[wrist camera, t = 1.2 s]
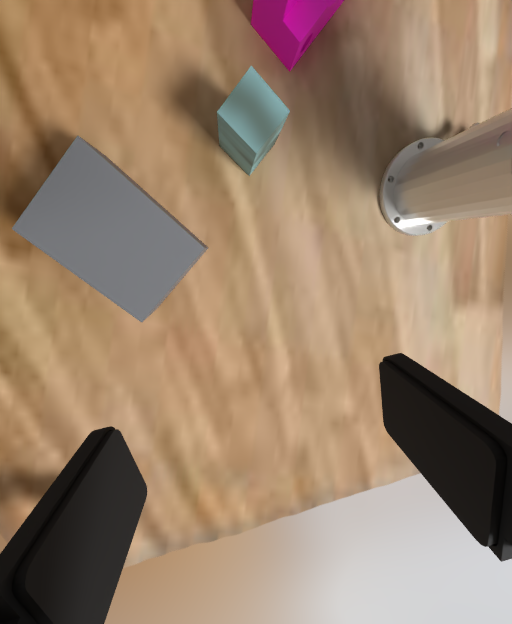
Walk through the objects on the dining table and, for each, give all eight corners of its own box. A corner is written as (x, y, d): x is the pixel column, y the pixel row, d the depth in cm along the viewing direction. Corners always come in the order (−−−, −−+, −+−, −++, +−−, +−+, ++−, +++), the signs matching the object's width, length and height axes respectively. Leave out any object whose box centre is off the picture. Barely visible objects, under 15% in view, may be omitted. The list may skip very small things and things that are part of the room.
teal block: (244, 112, 30) (251, 65, 22) (274, 144, 31) (290, 110, 23) (219, 145, 30) (216, 112, 23) (249, 175, 32) (256, 153, 24)
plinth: (106, 156, 29) (77, 135, 24) (208, 247, 34) (204, 248, 28) (51, 231, 31) (11, 228, 25) (155, 309, 35) (141, 322, 29)
